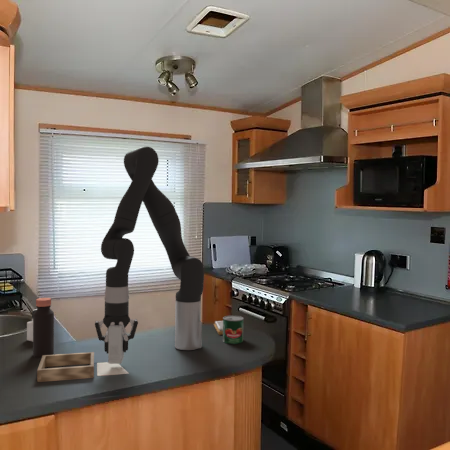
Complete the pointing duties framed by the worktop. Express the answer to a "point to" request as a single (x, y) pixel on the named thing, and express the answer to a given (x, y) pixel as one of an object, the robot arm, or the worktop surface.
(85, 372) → the wooden tray
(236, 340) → the canned tomato
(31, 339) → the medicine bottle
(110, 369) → the mat
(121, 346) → the skincare box
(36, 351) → the vinegar
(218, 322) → the soap dish
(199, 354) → the worktop surface
